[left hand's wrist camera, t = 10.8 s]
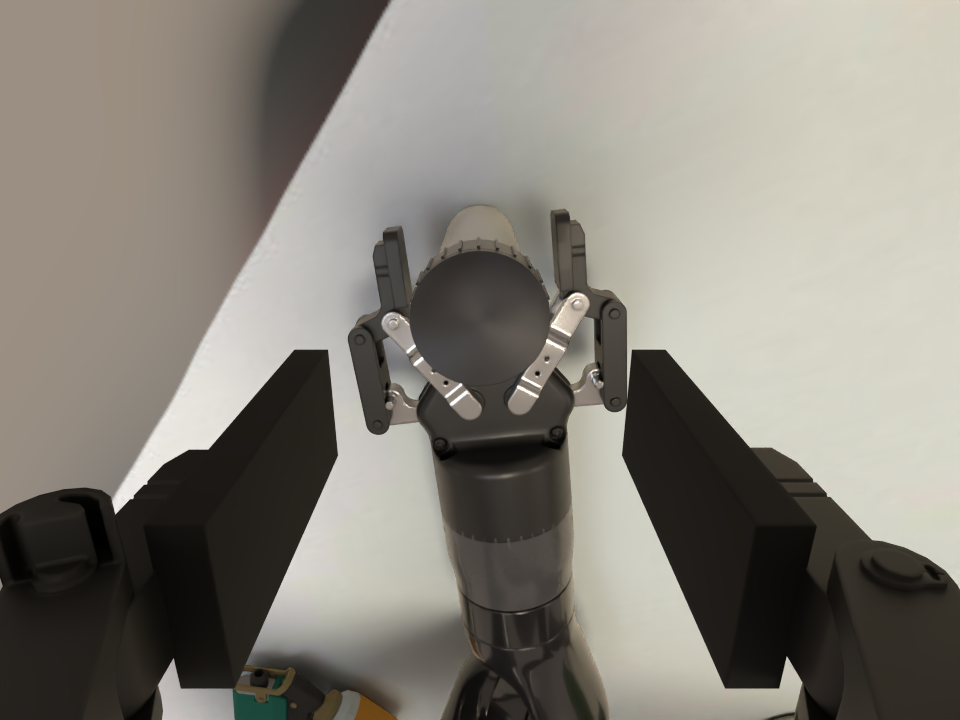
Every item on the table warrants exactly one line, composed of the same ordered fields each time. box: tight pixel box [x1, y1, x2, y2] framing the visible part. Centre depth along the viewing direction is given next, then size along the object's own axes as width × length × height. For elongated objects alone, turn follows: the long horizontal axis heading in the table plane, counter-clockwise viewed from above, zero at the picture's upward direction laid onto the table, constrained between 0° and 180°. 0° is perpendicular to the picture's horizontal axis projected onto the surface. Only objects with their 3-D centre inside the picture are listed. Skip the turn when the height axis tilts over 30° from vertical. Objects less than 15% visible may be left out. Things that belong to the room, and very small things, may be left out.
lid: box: [409, 237, 551, 386], centre depth 21 cm, size 5×5×2 cm
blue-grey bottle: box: [439, 205, 521, 253], centre depth 28 cm, size 4×4×16 cm
